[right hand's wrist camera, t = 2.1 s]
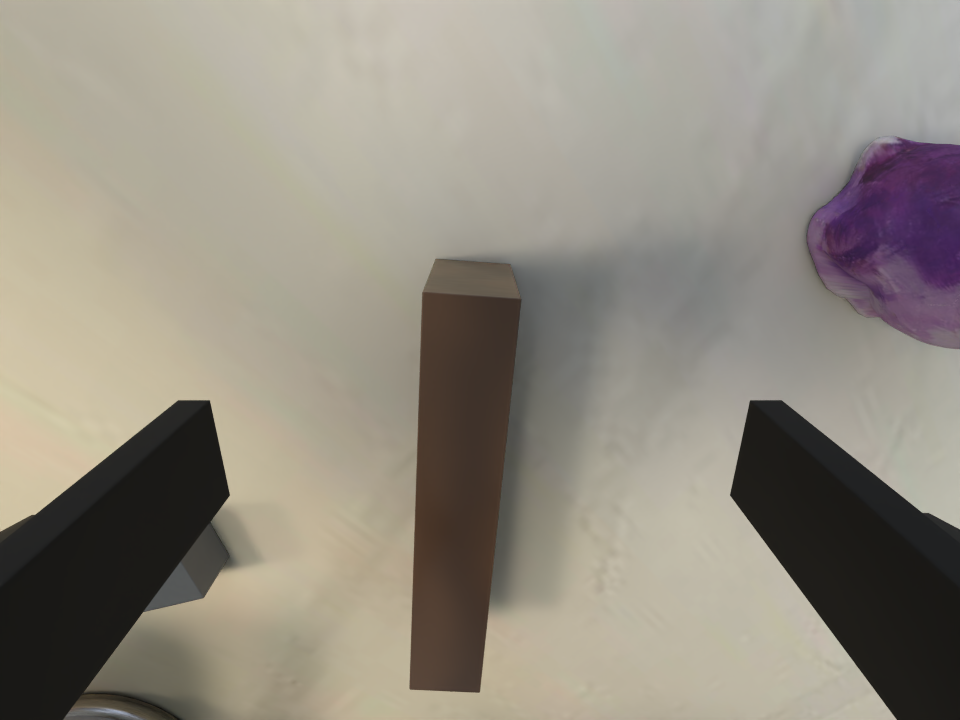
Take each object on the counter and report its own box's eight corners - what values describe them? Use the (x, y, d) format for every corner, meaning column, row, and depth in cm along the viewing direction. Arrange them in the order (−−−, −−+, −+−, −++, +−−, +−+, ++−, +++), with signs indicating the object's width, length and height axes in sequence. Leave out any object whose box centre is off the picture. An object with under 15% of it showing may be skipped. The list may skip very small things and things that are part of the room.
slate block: (170, 570, 39) (137, 613, 36) (136, 519, 38) (99, 559, 34) (230, 556, 39) (203, 598, 35) (199, 503, 37) (168, 542, 33)
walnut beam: (421, 591, 40) (409, 689, 33) (435, 258, 31) (422, 291, 23) (479, 594, 40) (480, 693, 33) (510, 264, 31) (521, 298, 23)
